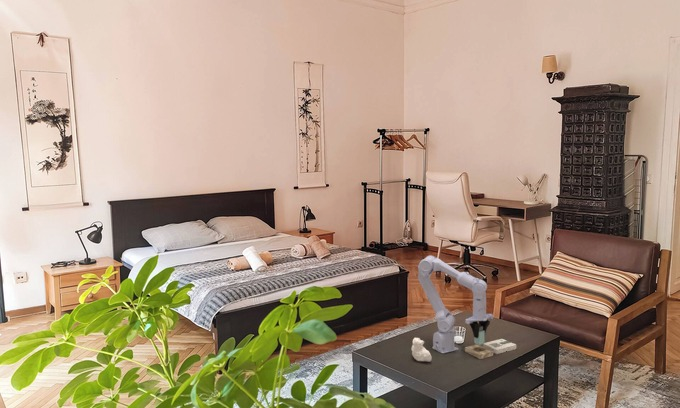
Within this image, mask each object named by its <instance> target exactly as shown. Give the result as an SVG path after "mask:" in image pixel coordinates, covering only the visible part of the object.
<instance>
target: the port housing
mask: <svg viewBox="0 0 680 408" xmlns="http://www.w3.org/2000/svg"><path fill="white" fill-rule="evenodd" d="M482 347H485V348H487V349H489V350H491V351H493V354H496V355H498V354H502V353H506V351H507V352H510V351H514V350H516V349H517V344H516V343H513V342H511V341H508V340H506V339H503V338H500V339H495V340H491V341H488V342H484V344H482Z"/></svg>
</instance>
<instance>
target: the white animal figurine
mask: <svg viewBox="0 0 680 408" xmlns="http://www.w3.org/2000/svg"><path fill="white" fill-rule="evenodd" d="M424 344H425V341H424V340H421V337H414V338H413V339H412V345H411V349H410V350H411V355H412V357H413V359H414V360H416V362H428V363H429V362H431V361H432V355H431V353H430V351H429V350H427V349H426V347H425V346H424Z"/></svg>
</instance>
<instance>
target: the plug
mask: <svg viewBox="0 0 680 408" xmlns="http://www.w3.org/2000/svg"><path fill="white" fill-rule="evenodd" d="M485 336H486V333H485V331H484V330H483V326H481V325H480V328H479V336H478V338H475V337H474V336H473V342H474V344H475V345H477V344H478V345H480V346H482V345H483V344H484V343H485Z"/></svg>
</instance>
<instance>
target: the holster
mask: <svg viewBox="0 0 680 408" xmlns="http://www.w3.org/2000/svg"><path fill="white" fill-rule="evenodd" d="M464 352H465V353H467V354H469V355H470V356H473V357H475V358H477V359H479V360H482V359H486V358H490V357H493V356H494V353H493V351H491V350H489V349H487V348H485V347H483V345H478V344H474V345H469V346H466V347H464Z"/></svg>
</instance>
